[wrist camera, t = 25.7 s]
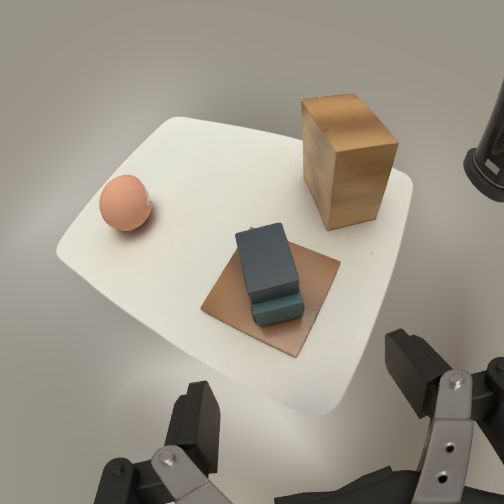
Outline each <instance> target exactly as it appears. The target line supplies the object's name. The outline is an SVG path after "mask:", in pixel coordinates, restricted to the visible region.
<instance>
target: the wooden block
mask: <svg viewBox="0 0 504 504" xmlns="http://www.w3.org/2000/svg"><path fill="white" fill-rule="evenodd" d="M301 108H302V131H303V173H304V178H305V180H306V182H307V185H308V187H309V189H310V191H311V194H312V196H313V198H314V200H315V203H316V205H317V207H318V210H319V212H320V214H321V217H322V219H323V221H324V224H325V226H326V229H327V231H328V230H332V229H336V228H340V227H344V226H348V225H352V224H356V223H361V222H365V221H369V220H373V219H376V216H377V213H378V210H379V207H380V204H381V201H382V198H383V195H384V192H385V189H386V186H387V182H388V179H389V176H390V172H391V169H392V165H393V162H394V158H395V154H396V151H397V147H398V141H397V140H396V139H395V137H394V136H393V135H392V134H391V133H390V131H389V130H388V129H387V128H386V127H385V126H384V125H383V123H382V122H381V121H380V120H379V119H378V118H377V116H376V115H375V114H374V113H373V112H372V111H371V110H370V109H369V108H368V107H367V106H366V105H365V103H364V102H363V101H362V100H361V99H360V98H359V97H358V96H357V95H356V94H343V95H333V96H326V97H317V98H309V99H303V100H301Z"/></svg>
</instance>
